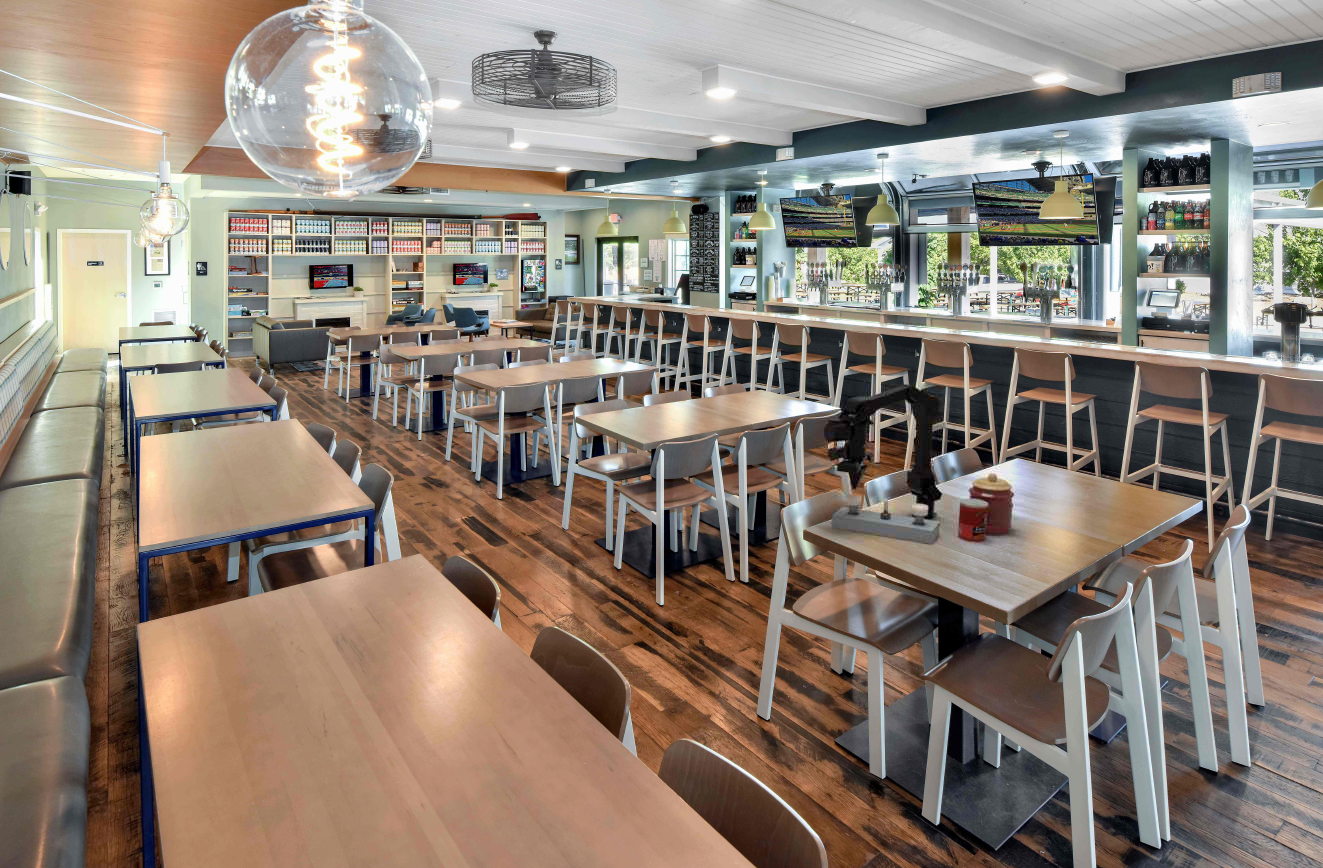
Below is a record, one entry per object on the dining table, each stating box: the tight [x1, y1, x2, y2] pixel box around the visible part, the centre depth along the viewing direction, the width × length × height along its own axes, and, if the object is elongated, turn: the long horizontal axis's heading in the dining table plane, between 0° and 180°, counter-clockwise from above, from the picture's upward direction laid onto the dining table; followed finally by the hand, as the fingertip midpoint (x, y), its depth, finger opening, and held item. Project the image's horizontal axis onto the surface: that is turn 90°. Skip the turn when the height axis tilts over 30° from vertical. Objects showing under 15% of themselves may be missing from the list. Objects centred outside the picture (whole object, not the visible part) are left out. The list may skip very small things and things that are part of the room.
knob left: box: [845, 493, 863, 514], centre depth 244 cm, size 5×5×5 cm
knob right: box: [911, 503, 928, 524], centre depth 234 cm, size 5×5×5 cm
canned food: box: [957, 498, 988, 543], centre depth 233 cm, size 8×8×11 cm
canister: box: [968, 472, 1015, 536], centre depth 240 cm, size 13×13×18 cm
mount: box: [831, 506, 941, 545], centre depth 240 cm, size 10×30×4 cm, turn 59°
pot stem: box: [880, 500, 891, 520], centre depth 239 cm, size 3×3×6 cm
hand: (854, 488), depth 243 cm, fingers closed
